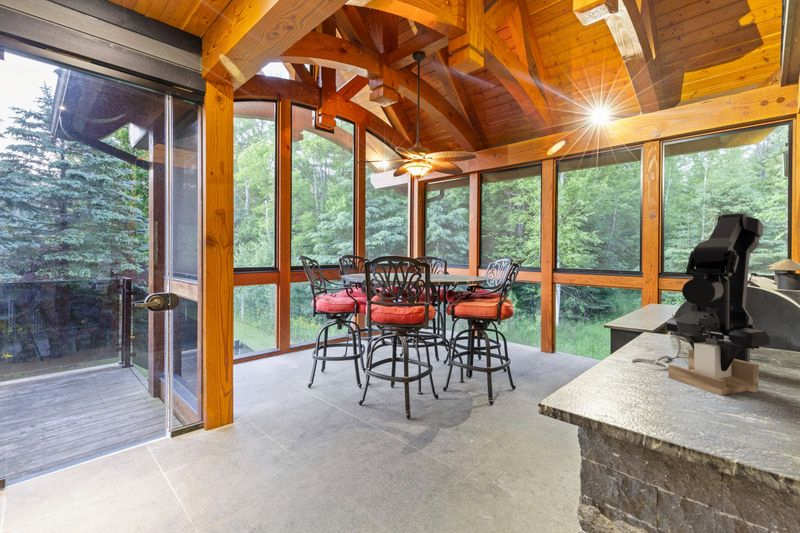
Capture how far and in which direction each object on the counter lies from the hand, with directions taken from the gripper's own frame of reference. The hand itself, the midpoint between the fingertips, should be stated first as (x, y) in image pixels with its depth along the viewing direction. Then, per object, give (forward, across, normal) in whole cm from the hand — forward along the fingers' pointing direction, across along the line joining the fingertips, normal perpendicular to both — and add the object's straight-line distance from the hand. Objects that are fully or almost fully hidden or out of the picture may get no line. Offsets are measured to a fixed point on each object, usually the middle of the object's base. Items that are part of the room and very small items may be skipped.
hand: (712, 367), depth 86 cm
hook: (+5, -18, +6) cm, 19 cm away
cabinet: (+2, 0, 0) cm, 2 cm away
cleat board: (+4, -1, 0) cm, 4 cm away
